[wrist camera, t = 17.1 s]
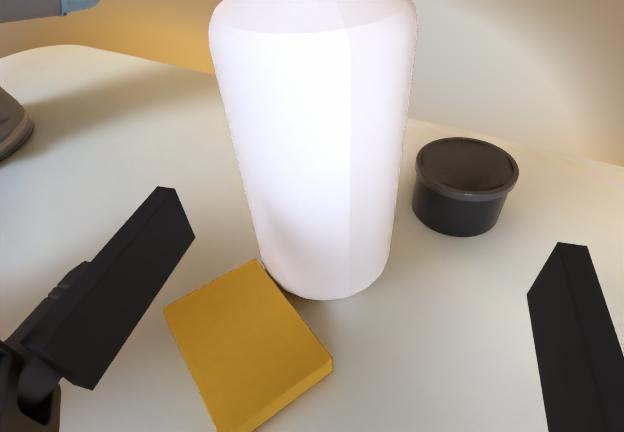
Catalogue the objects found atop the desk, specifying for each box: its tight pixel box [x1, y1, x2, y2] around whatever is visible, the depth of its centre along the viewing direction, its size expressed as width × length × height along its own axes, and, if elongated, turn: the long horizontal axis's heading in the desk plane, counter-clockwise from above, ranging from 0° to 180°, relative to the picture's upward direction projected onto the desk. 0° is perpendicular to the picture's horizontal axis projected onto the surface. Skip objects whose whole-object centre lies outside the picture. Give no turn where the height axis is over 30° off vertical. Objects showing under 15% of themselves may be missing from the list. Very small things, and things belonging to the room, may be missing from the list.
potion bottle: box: [208, 0, 418, 301], centre depth 18 cm, size 8×8×18 cm
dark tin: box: [412, 137, 519, 237], centre depth 26 cm, size 6×6×4 cm
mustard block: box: [162, 259, 333, 432], centre depth 20 cm, size 8×6×2 cm
